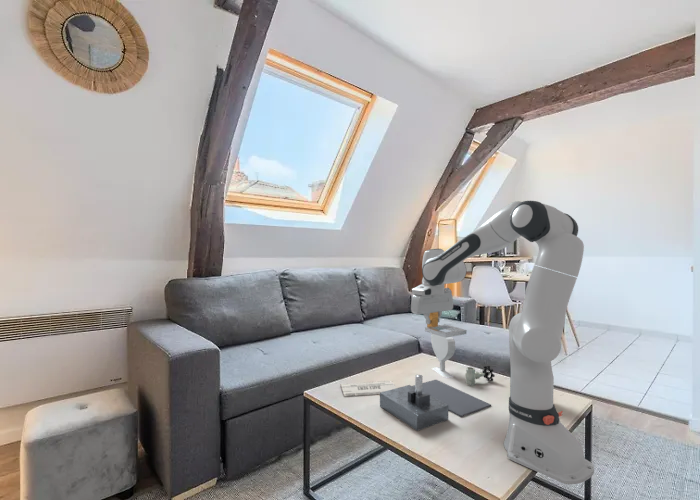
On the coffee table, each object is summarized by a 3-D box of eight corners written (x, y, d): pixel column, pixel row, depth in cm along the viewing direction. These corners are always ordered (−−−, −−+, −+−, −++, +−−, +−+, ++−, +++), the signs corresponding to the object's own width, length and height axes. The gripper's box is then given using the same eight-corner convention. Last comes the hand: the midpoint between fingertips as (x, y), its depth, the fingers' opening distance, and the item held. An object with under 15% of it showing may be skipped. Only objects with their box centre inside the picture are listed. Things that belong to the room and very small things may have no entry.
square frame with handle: (466, 333, 139) (466, 315, 139) (445, 337, 133) (446, 318, 133) (439, 326, 151) (439, 309, 151) (419, 329, 145) (419, 312, 145)
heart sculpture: (456, 377, 160) (456, 337, 160) (446, 379, 159) (446, 338, 159) (438, 366, 175) (439, 329, 175) (429, 367, 174) (429, 329, 174)
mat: (491, 406, 133) (491, 404, 133) (460, 417, 125) (460, 415, 125) (435, 380, 157) (435, 379, 157) (407, 388, 148) (407, 387, 148)
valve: (471, 387, 150) (494, 383, 154) (471, 371, 150) (494, 368, 154) (461, 381, 156) (483, 378, 161) (461, 366, 156) (484, 363, 160)
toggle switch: (448, 419, 123) (448, 378, 122) (417, 430, 116) (417, 387, 115) (409, 397, 140) (409, 361, 140) (379, 406, 133) (380, 368, 132)
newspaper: (389, 382, 156) (390, 377, 156) (398, 397, 144) (398, 392, 144) (337, 385, 152) (337, 380, 152) (341, 401, 140) (341, 395, 140)
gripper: (445, 286, 154) (445, 318, 155) (408, 289, 144) (408, 324, 144) (457, 288, 149) (456, 321, 149) (419, 291, 138) (419, 327, 139)
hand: (432, 323), depth 147 cm, fingers closed on square frame with handle, 3 cm apart
